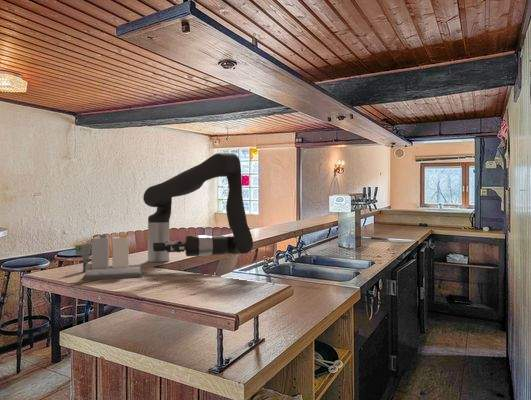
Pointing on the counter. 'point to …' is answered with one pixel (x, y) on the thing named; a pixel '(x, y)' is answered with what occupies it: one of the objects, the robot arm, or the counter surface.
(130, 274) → the grey l-shaped block
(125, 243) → the cream module
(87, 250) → the mechanical component
